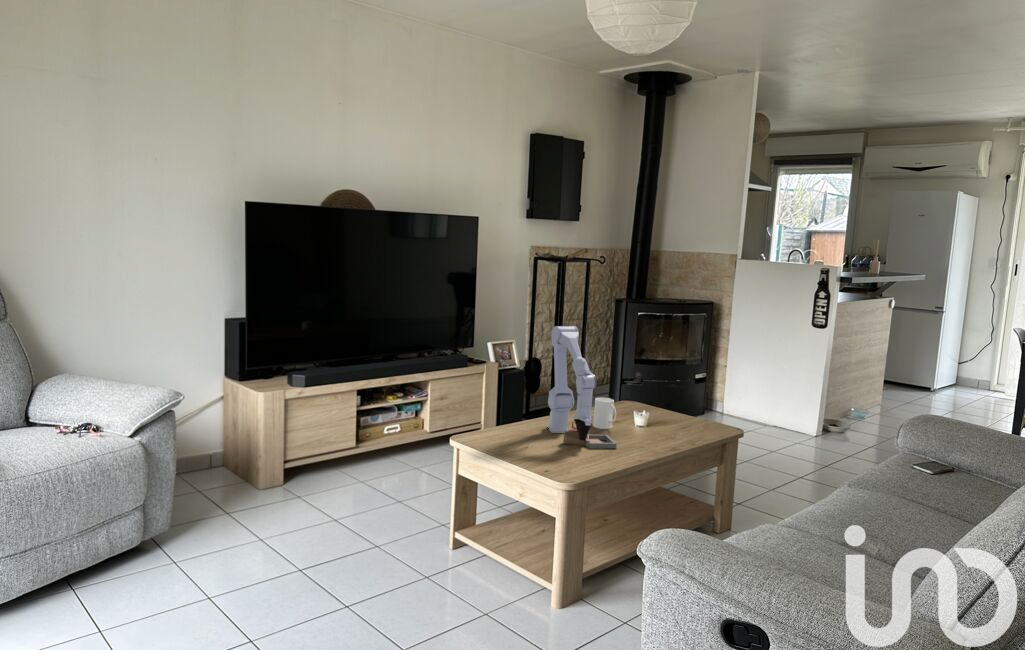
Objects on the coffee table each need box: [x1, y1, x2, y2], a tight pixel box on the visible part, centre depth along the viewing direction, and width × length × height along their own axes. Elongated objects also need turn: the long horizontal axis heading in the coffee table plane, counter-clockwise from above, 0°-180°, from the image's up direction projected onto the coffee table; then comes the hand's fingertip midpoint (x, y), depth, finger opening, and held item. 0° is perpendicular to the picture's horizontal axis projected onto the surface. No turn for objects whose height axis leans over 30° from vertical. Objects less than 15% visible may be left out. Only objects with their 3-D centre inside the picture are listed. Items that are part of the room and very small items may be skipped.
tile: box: [588, 439, 603, 443], centre depth 283 cm, size 6×6×2 cm
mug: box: [592, 397, 617, 430], centre depth 308 cm, size 12×8×12 cm
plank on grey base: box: [562, 429, 590, 448], centre depth 281 cm, size 8×9×5 cm
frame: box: [588, 434, 618, 449], centre depth 283 cm, size 12×11×2 cm
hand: (581, 438), depth 281 cm, fingers closed on plank on grey base, 2 cm apart
